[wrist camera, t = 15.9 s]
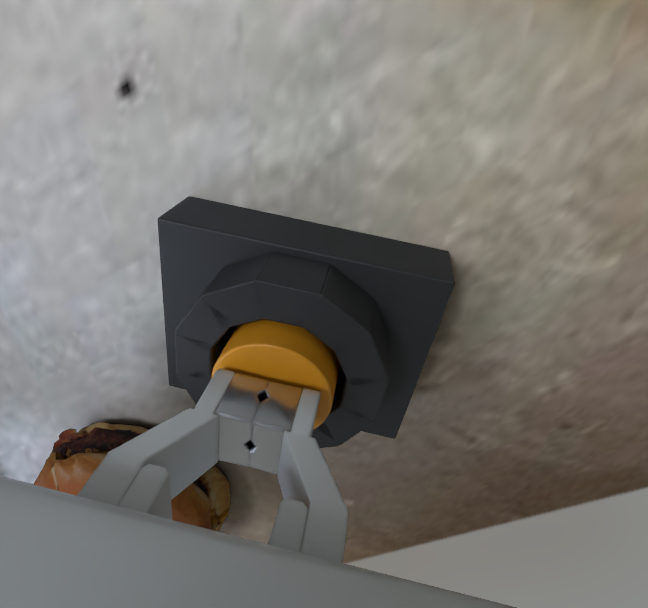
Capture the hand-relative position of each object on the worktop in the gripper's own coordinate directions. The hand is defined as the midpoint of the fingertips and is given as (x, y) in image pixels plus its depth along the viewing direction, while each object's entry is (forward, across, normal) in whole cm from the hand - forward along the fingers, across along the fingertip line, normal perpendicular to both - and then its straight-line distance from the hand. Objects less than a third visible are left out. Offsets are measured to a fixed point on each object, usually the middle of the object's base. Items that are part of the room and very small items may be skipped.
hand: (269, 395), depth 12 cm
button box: (+5, 0, 0) cm, 5 cm away
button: (+2, 0, 0) cm, 2 cm away
